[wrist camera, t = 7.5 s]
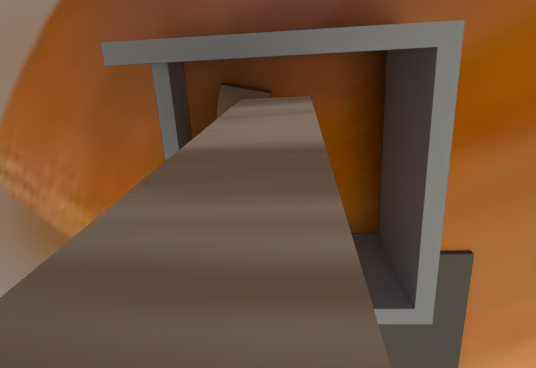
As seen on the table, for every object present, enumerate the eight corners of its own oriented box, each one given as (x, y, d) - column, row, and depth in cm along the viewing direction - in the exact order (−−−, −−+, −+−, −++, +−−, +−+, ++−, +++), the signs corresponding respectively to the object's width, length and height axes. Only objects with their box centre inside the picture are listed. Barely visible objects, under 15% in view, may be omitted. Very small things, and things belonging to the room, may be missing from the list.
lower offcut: (225, 82, 32) (220, 84, 29) (272, 90, 32) (270, 93, 29) (210, 210, 36) (204, 221, 33) (251, 217, 36) (248, 229, 33)
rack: (166, 47, 30) (100, 42, 20) (403, 33, 29) (464, 19, 19) (193, 247, 36) (152, 324, 26) (390, 244, 35) (432, 324, 24)
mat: (361, 252, 35) (362, 255, 35) (470, 250, 34) (473, 254, 34) (357, 368, 40) (358, 372, 39) (454, 369, 39) (457, 374, 38)
